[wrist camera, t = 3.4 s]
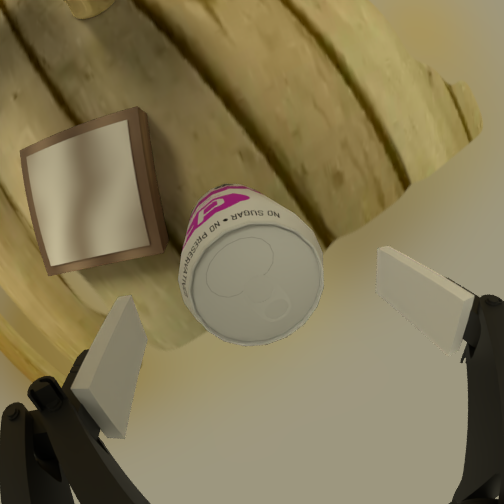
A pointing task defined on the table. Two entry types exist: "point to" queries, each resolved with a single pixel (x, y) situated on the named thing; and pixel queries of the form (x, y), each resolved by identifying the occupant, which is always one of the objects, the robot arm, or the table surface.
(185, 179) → the table surface
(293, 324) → the supplement can
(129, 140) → the base
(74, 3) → the metal tumbler
